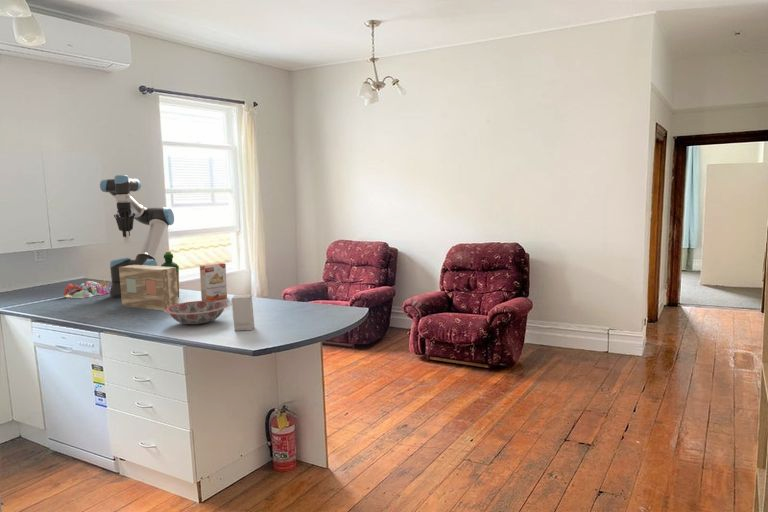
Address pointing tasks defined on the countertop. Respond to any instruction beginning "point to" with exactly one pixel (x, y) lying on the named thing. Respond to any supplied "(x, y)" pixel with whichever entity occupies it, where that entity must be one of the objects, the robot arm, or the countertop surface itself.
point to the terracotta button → (151, 287)
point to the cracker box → (213, 281)
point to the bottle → (171, 265)
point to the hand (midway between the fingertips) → (126, 242)
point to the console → (164, 286)
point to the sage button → (131, 285)
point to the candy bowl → (87, 289)
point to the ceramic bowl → (196, 311)
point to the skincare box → (243, 312)
